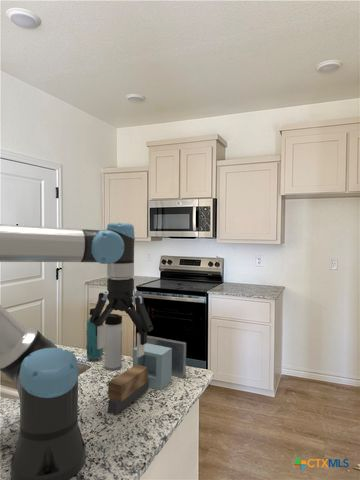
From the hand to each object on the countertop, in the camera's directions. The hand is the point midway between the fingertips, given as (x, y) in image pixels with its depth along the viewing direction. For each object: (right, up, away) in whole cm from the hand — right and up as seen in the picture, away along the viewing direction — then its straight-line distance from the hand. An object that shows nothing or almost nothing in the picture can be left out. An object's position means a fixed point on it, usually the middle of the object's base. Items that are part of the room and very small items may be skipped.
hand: (120, 351), depth 95 cm
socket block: (+8, -16, +16) cm, 24 cm away
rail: (+2, -16, +5) cm, 17 cm away
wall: (+11, -16, +24) cm, 31 cm away
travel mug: (-8, -16, +28) cm, 33 cm away
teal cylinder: (-16, -15, +35) cm, 42 cm away
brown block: (+2, -13, +4) cm, 14 cm away
